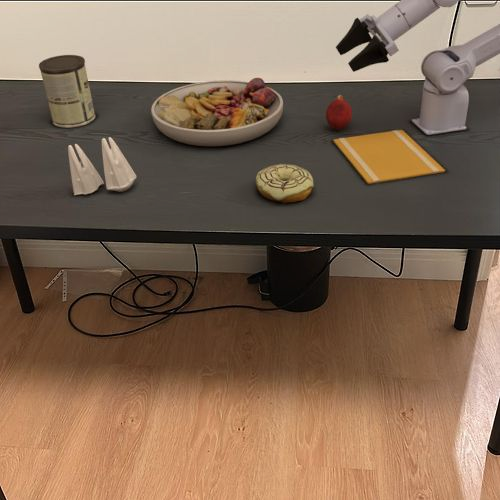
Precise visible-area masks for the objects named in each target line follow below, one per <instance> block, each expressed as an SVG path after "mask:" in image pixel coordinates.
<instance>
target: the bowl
mask: <svg viewBox="0 0 500 500" xmlns="http://www.w3.org/2000/svg"><path fill="white" fill-rule="evenodd" d="M265 82H266V81H264V79H263V78H261V77H253V78H252V79H251V80H249V81H243V80H230V79H229V80H227V79H225V80H223V79H222V80H209V81H201V82H196V83H190V84H187V85H183V86H182V85H181V86H180V87H176V88H174V89H171V90H169V91H167V92H165V93H163V94H161V95H160V96H158V97H157V98H156V100H154V102H153V103H152V105H151V108H150V109H151V110H150V111H151V117H152V120H153V123H154V124H155V126H156V128H157V129H158V130H159V132H161V133H162V134H163V135H165V137H168V138H170V139H171V140H173V141H177V142H179V143H183V144H184V145H185V144H186V145H190V146H198V147H225V146H233V145H237V144H243V143H247V142H249V141H252V140H255V139H257V138H259V137H262V136H263V135H265V134H267V133H269V132H270V131H272V129H274V127H275V126H276V125H277V124H278V123H279V121H280V120H281V117H282V115H283V109H284V100H283V97H282V95H281V94H280V93H279V92H278V91H276V90H274V89H273V88H271V87H268V86H267V85H266V83H265Z"/></svg>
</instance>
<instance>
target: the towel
mask: <svg viewBox="0 0 500 500" xmlns="http://www.w3.org/2000/svg"><path fill="white" fill-rule="evenodd" d="M332 142H333V143H334V145H336V146H337V148H338V149H339V150H340V152H341V153H342V154H343V156H344V157H345V158H346V159H347V160H348V162H349V163H350V164H351V165H352V167H353V168H354V169H355V170H356V172H357V173H358V174H359V175H360V176H361V178H362V179H363V180H364V181H365V182H366V184H367V185H371V184H377V183H382V182H390V181H397V180H404V179H409V178H417V177H421V176H422V177H423V176H427V175H434V174H441V173H445V172H446V169H445V168H444V167H442V166H441V165H440V164H439V163H438V162H437V161H436V160H435V159H434V158H433V157H432V156H431V155H430V154H429V153H428V152H427V151H425V150H424V149H423V148H422V147H421V146H420V145H419V144H418V143H417V142H416V141H415V140H414V139H412V138H411V137H410V136H409V134H408V133H406V132H405V131H404V129H395V130H390V131H383V132H375V133H369V134H362V135H355V136H348V137H339V138H335V139H334V138H333V139H332Z"/></svg>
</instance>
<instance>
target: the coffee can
mask: <svg viewBox="0 0 500 500" xmlns="http://www.w3.org/2000/svg"><path fill="white" fill-rule="evenodd" d="M38 68H39V70H40V75H41V79H42V83H43V86H44V92H45V95H46V100H47V103H48V107H49V112H50V116H51V120H52V124H53V125H54V126H56V127H58V128H65V129H69V128H70V129H71V128H78V127H83V126H85V125H88V124H90V123H92V122H93V121H94V120H95V119H96V112H95V107H94V103H93V98H92V93H91V88H90V83H89V78H88V73H87V68H86V60H85V58H84V57H83V56H81V55H78V54H62V55H55V56H51V57H48V58H45V59H43V60H42V61H41V62H39V63H38Z"/></svg>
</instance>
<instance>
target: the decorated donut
mask: <svg viewBox="0 0 500 500" xmlns="http://www.w3.org/2000/svg"><path fill="white" fill-rule="evenodd" d="M255 177H256V178H255V184H256V187H257V191H258V192H259V193H260V194H261V195H262V196H263V197H264V198H265V199H268V200H270V201H276V202H280V203H281V202H282V203H283V204H288V203H296V202H301V201H305V199H307V197H309V195H310V194H311V193H312V190H313V188H314V186H315V185H314V178H313V176H312V174H311V173H310V172H309V171H308V170H307V169H306V168H303V167H301V166H298V165H294V164H288V163H284V164H283V163H280V164H273V165H270V166H267V167H266V168H263V169H262V170H259V171H258V173H257V174H256V176H255Z"/></svg>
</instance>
